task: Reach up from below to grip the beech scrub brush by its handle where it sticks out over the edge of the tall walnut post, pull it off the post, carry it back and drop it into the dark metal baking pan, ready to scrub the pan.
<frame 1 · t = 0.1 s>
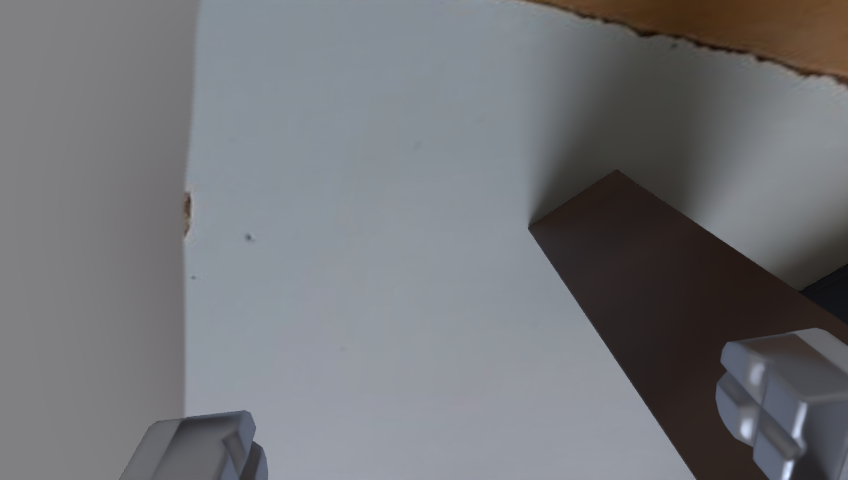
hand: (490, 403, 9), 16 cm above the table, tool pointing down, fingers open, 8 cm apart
shelf post: (603, 250, 26), on the table
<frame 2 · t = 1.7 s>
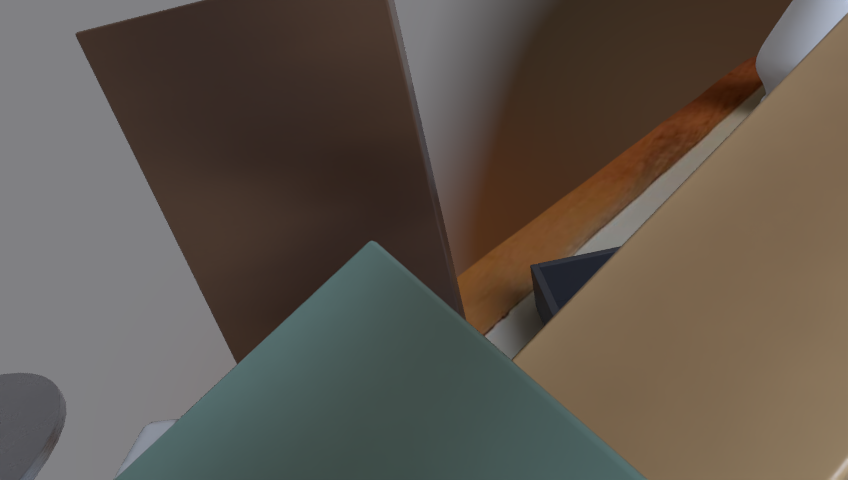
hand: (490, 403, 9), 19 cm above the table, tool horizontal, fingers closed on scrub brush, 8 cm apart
vase: (830, 98, 69), on the table
pan: (682, 372, 33), on the table
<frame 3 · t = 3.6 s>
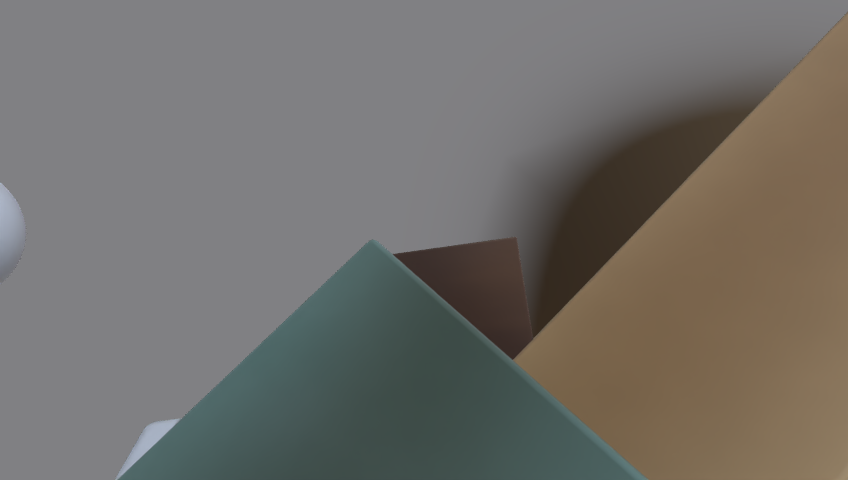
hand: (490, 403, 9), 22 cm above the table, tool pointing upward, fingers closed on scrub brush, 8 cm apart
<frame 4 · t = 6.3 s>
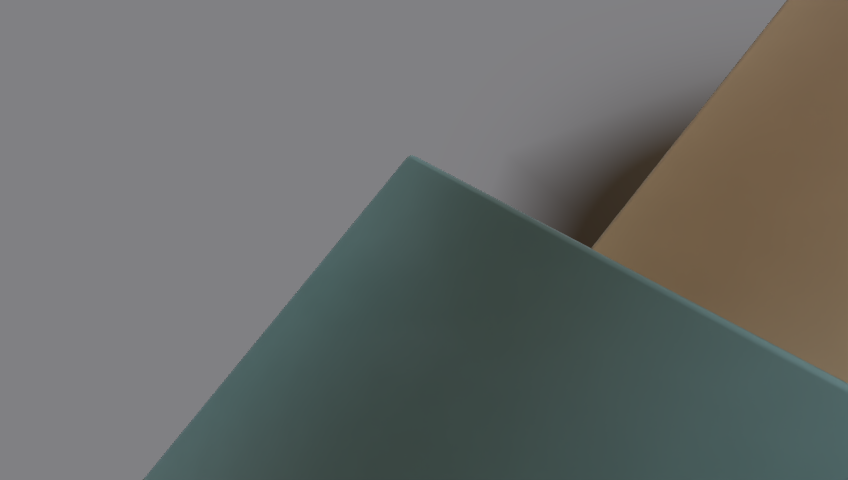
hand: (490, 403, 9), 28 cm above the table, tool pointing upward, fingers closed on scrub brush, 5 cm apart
scrub brush: (708, 468, 7), point 27 cm above the table, tilted 61°, touching gripper
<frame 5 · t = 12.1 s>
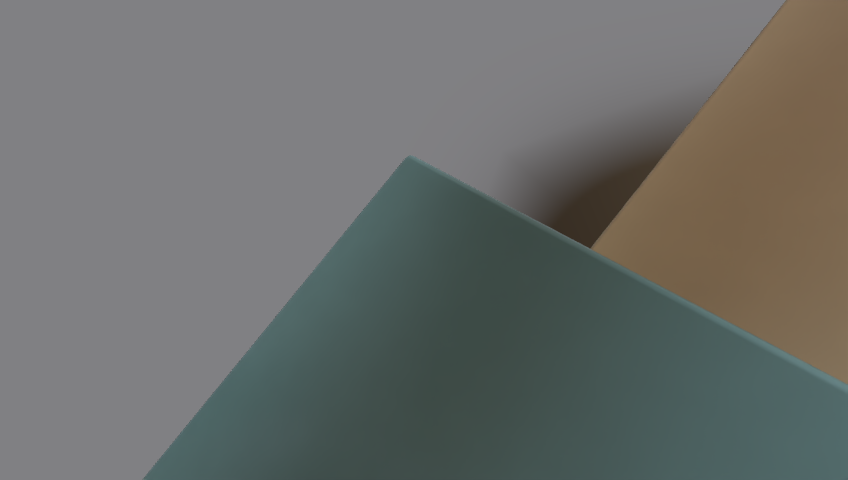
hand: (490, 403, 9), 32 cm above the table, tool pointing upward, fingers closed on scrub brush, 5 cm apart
scrub brush: (708, 468, 7), point 31 cm above the table, tilted 61°, touching gripper
when the fingers open (17 cm above the table, at t = 18.2 s): scrub brush drops 1 cm and tips over, point 15 cm above the table.
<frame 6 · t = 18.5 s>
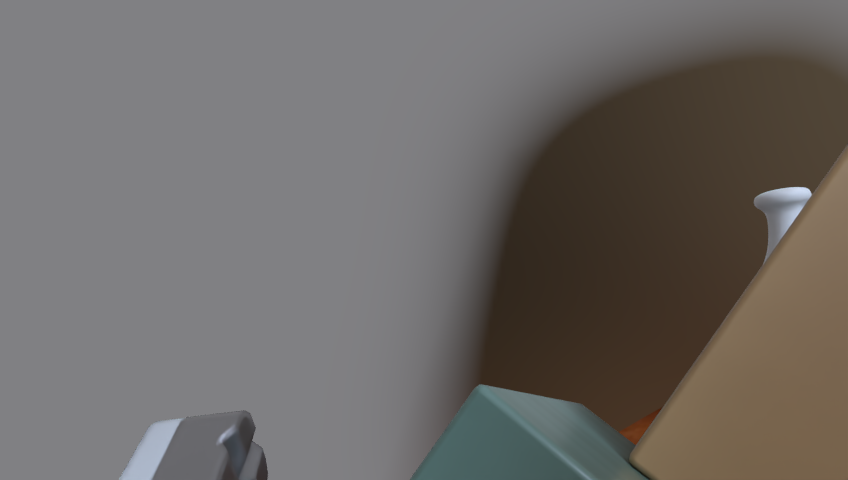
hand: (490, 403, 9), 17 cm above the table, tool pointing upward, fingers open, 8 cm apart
vase: (823, 423, 54), on the table
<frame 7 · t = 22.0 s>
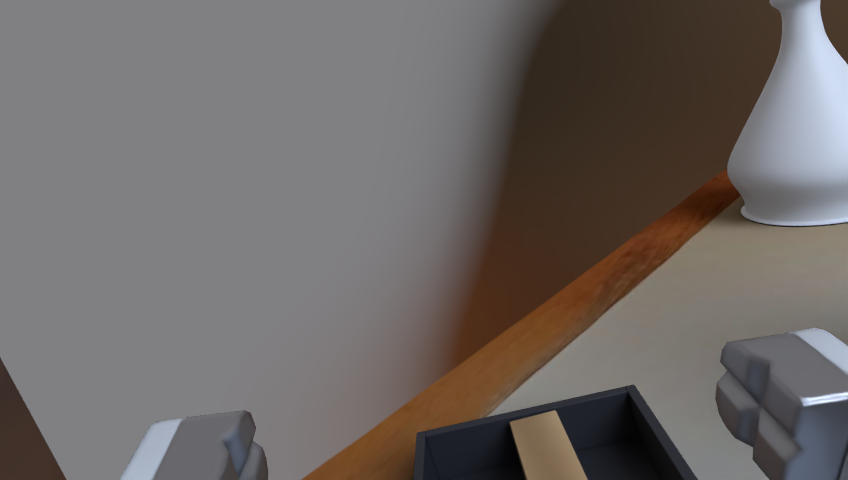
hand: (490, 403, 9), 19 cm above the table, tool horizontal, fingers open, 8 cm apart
vase: (817, 205, 62), on the table
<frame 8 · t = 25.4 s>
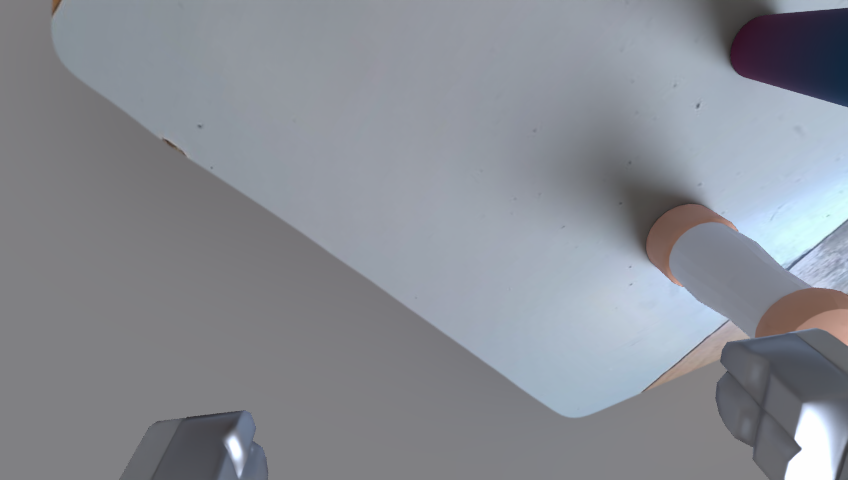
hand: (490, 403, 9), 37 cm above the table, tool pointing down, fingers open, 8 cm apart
cup: (757, 47, 43), on the table
pepper shaker: (681, 237, 50), on the table
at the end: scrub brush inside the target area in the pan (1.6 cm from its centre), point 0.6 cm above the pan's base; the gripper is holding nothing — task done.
